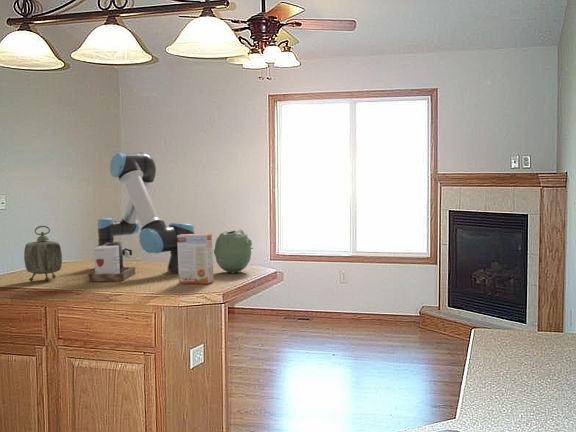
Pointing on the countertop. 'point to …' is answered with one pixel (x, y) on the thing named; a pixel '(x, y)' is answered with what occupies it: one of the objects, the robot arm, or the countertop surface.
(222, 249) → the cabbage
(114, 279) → the wooden tray
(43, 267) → the tabletop clock
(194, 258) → the cracker box
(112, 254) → the supplement box
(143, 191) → the robot arm
